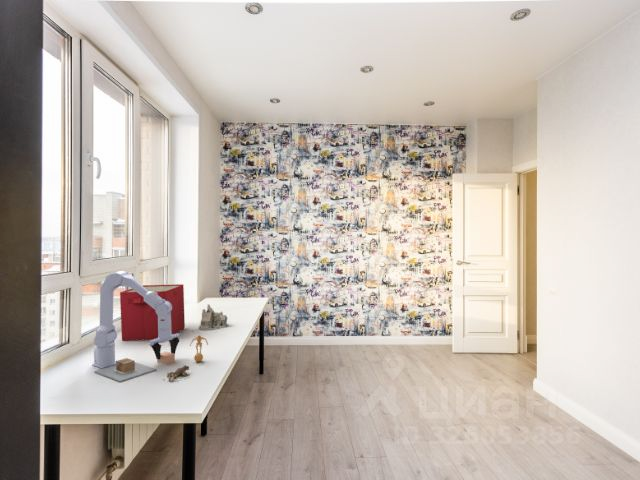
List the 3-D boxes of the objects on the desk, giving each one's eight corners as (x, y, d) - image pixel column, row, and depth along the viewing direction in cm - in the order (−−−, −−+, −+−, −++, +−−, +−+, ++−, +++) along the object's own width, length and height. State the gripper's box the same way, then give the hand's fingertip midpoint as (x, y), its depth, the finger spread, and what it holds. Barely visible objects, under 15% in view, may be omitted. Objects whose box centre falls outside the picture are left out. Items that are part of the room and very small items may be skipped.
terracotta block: (157, 362, 177) (157, 354, 177) (166, 359, 181) (165, 351, 181) (166, 365, 173) (165, 356, 173) (174, 362, 177) (174, 353, 177)
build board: (94, 372, 166) (94, 370, 166) (130, 361, 179) (130, 360, 179) (119, 382, 153) (119, 380, 153) (156, 370, 166) (156, 368, 166)
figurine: (188, 363, 174) (187, 337, 174) (191, 359, 180) (190, 334, 180) (207, 362, 175) (206, 336, 175) (209, 358, 181) (208, 333, 181)
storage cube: (166, 341, 214) (164, 290, 213) (118, 342, 214) (117, 291, 214) (187, 327, 246) (186, 283, 246) (145, 328, 246) (144, 284, 246)
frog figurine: (182, 370, 166) (182, 361, 166) (197, 376, 159) (197, 367, 158) (157, 378, 158) (156, 369, 157) (171, 385, 150) (171, 375, 150)
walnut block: (116, 370, 166) (115, 360, 166) (126, 366, 170) (126, 358, 170) (124, 372, 162) (124, 363, 162) (134, 369, 166) (134, 360, 166)
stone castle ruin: (195, 329, 238) (196, 306, 239) (209, 324, 254) (210, 302, 254) (217, 332, 234) (218, 308, 234) (230, 327, 250) (231, 304, 250)
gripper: (155, 332, 169) (156, 362, 169) (183, 325, 181) (184, 353, 181) (146, 330, 173) (147, 360, 173) (174, 324, 185) (175, 351, 185)
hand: (165, 356), depth 177 cm, fingers open, 7 cm apart
